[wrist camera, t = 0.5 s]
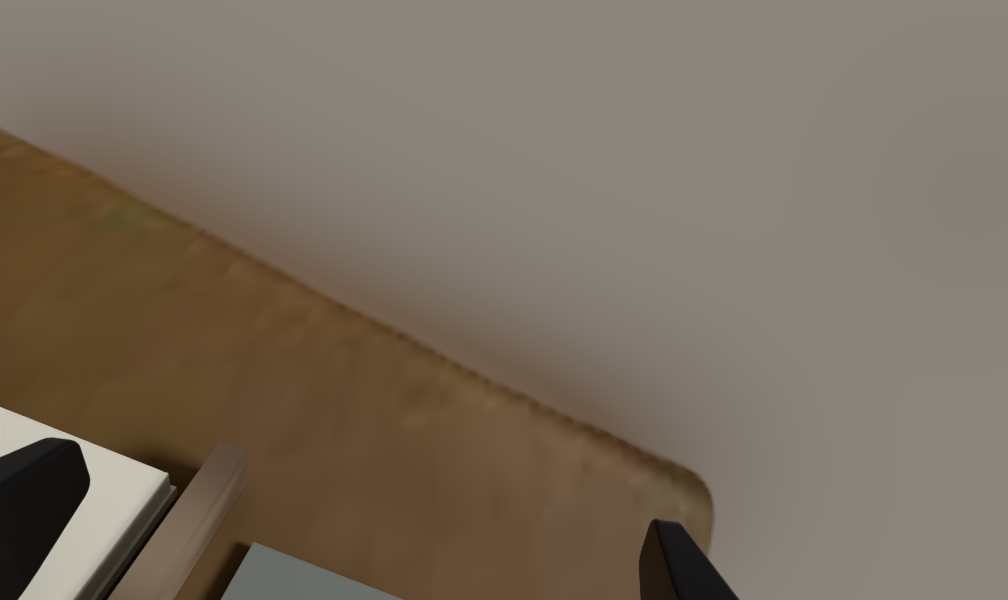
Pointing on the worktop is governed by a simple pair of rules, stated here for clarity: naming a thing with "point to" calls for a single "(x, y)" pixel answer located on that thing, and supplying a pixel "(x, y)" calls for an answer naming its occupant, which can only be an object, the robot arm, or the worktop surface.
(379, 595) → the mat
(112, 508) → the offcut upper
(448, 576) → the worktop surface
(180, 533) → the rack
